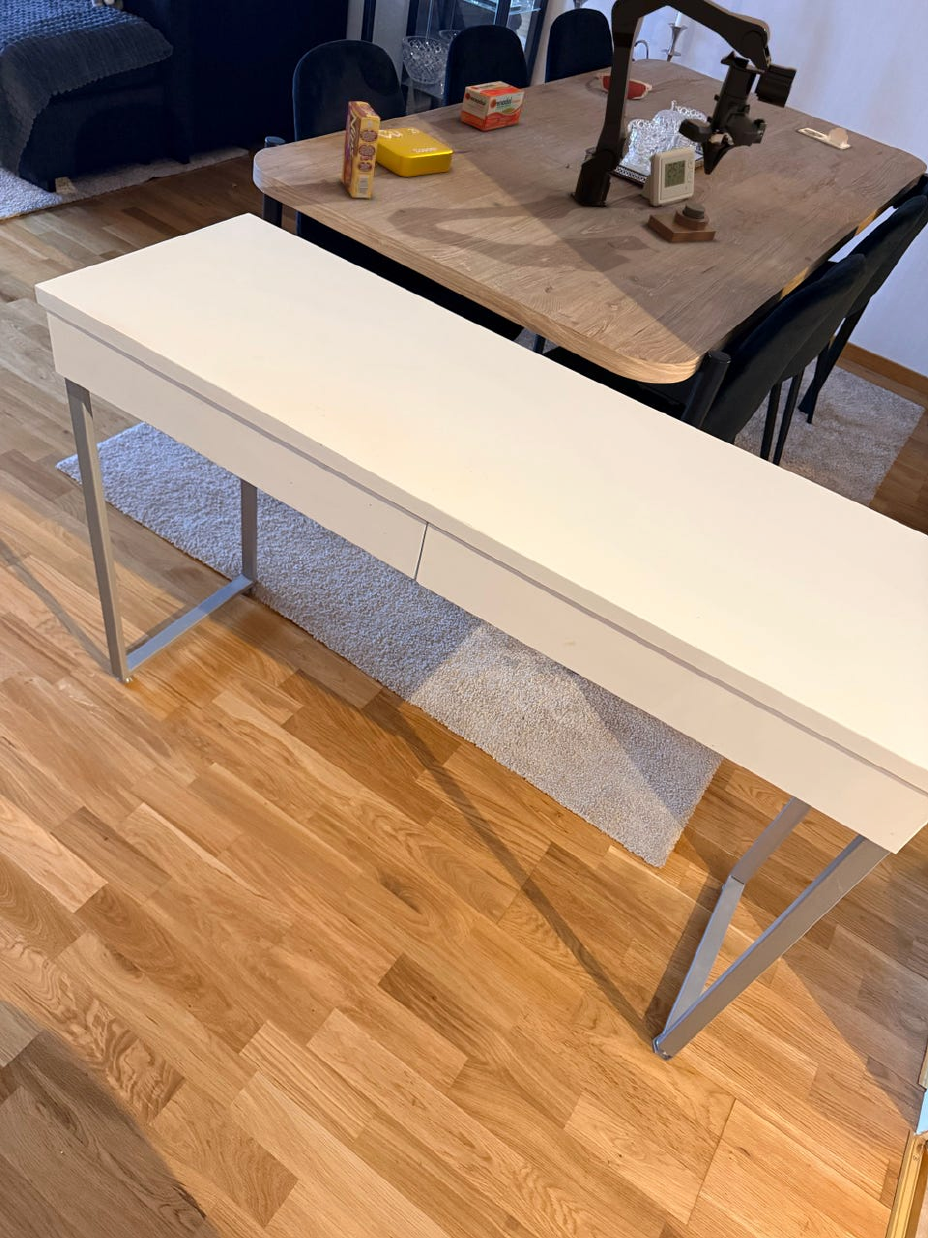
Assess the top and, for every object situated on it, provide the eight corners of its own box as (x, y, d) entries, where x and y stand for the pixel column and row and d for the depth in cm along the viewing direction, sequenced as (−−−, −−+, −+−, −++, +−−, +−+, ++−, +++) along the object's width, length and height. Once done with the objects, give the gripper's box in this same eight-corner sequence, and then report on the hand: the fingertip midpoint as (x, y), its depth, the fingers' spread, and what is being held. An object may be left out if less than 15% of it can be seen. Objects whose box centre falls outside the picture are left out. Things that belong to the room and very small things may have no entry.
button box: (670, 242, 198) (677, 223, 195) (647, 224, 203) (652, 206, 200) (712, 240, 203) (719, 222, 200) (688, 222, 208) (694, 204, 205)
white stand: (849, 146, 279) (856, 131, 276) (840, 149, 275) (847, 133, 272) (807, 129, 285) (813, 113, 282) (797, 131, 281) (803, 115, 278)
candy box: (372, 199, 186) (381, 118, 175) (352, 198, 184) (359, 116, 174) (360, 181, 191) (368, 101, 181) (340, 180, 190) (347, 99, 179)
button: (690, 220, 199) (694, 210, 198) (678, 211, 202) (682, 202, 200) (706, 219, 201) (709, 210, 200) (694, 211, 204) (697, 201, 202)
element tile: (401, 178, 196) (404, 154, 193) (359, 151, 203) (361, 128, 200) (453, 171, 205) (457, 148, 201) (411, 145, 212) (414, 123, 208)
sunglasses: (593, 89, 272) (597, 70, 269) (593, 86, 286) (597, 67, 284) (649, 103, 272) (654, 84, 270) (647, 99, 286) (652, 81, 284)
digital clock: (651, 208, 210) (667, 160, 203) (626, 192, 215) (640, 144, 208) (700, 204, 218) (717, 157, 211) (675, 189, 223) (690, 142, 216)
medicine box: (494, 113, 240) (500, 79, 234) (518, 124, 237) (525, 90, 232) (458, 121, 230) (464, 86, 225) (484, 132, 228) (490, 97, 222)
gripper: (724, 106, 176) (696, 190, 186) (794, 109, 184) (763, 189, 195) (690, 86, 182) (664, 168, 193) (758, 89, 190) (730, 168, 201)
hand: (707, 173), depth 195 cm, fingers closed
